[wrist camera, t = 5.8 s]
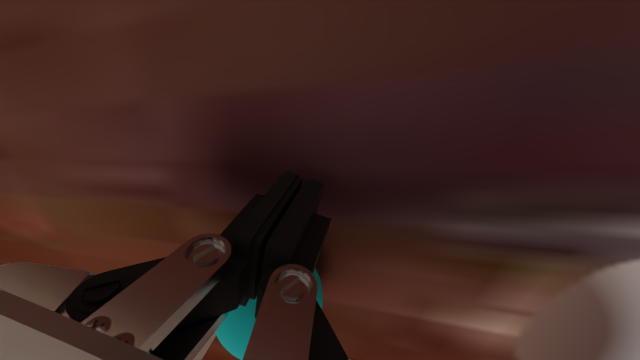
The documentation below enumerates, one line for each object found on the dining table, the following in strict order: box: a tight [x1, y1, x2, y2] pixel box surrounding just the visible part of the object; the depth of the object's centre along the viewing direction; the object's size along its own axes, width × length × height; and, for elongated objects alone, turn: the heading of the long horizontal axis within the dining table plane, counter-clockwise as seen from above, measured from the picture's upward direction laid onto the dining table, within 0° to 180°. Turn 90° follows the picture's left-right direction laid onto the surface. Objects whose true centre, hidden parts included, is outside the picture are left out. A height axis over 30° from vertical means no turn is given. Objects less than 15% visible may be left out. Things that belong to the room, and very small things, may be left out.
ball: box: [215, 268, 323, 360], centre depth 13 cm, size 6×6×6 cm
